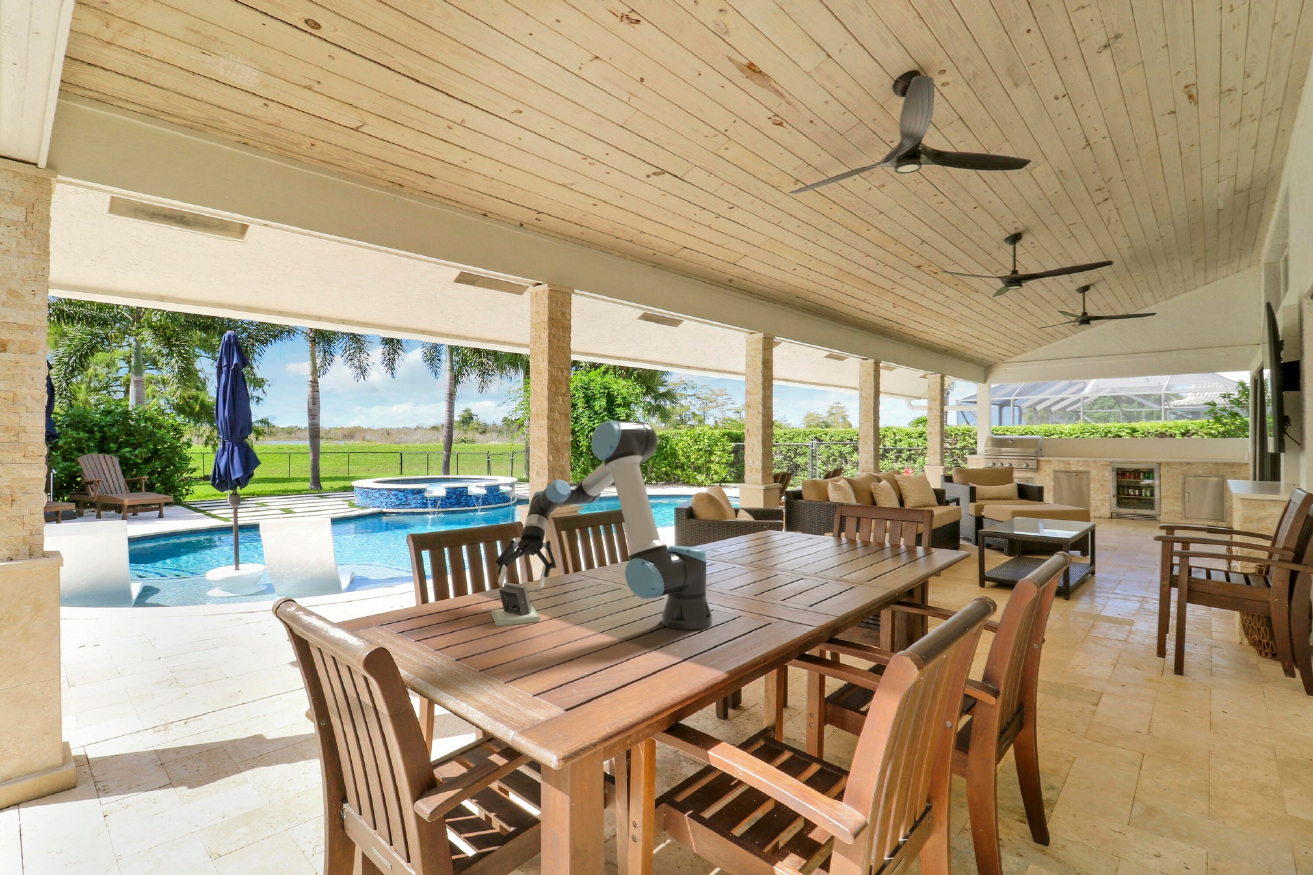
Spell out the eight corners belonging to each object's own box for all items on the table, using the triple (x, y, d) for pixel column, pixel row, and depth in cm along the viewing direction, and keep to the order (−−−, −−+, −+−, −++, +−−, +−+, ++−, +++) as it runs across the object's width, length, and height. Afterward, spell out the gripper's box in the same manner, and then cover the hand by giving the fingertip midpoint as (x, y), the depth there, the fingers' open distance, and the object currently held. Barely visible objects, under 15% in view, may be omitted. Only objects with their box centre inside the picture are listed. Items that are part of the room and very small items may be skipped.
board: (539, 621, 190) (539, 616, 190) (496, 626, 185) (496, 620, 185) (532, 610, 202) (532, 605, 202) (491, 614, 197) (491, 609, 197)
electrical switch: (532, 613, 193) (530, 584, 193) (520, 619, 189) (518, 589, 188) (511, 608, 198) (509, 580, 198) (499, 614, 194) (496, 585, 193)
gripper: (571, 537, 216) (560, 591, 201) (502, 536, 218) (486, 589, 204) (567, 524, 211) (556, 579, 196) (496, 523, 213) (479, 577, 198)
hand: (520, 584), depth 200 cm, fingers open, 13 cm apart
